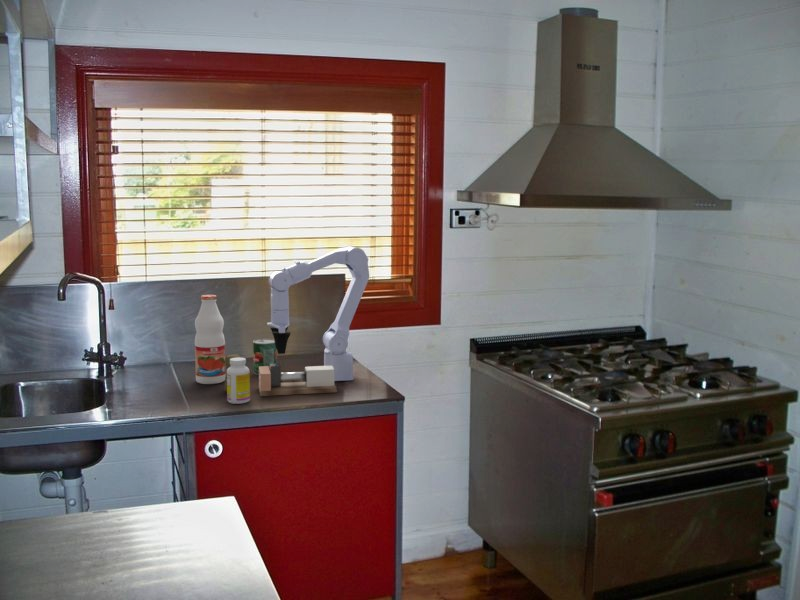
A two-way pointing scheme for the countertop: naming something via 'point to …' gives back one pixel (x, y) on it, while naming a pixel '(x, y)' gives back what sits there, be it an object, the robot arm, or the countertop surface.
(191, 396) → the countertop surface
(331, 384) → the sleeve
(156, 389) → the countertop surface
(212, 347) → the fruit juice
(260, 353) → the canned tomato
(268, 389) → the socket block
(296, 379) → the tube
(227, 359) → the olive tan rounded piece
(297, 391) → the tan board
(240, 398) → the supplement bottle
